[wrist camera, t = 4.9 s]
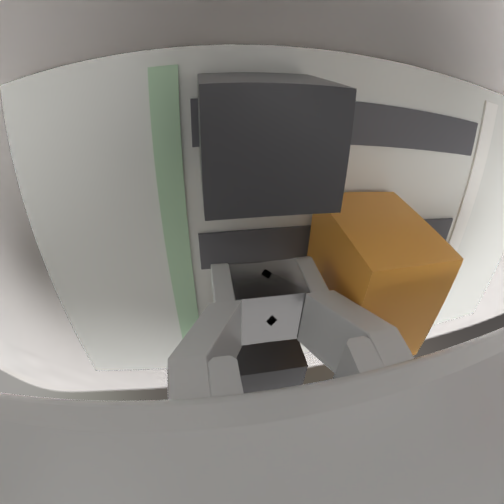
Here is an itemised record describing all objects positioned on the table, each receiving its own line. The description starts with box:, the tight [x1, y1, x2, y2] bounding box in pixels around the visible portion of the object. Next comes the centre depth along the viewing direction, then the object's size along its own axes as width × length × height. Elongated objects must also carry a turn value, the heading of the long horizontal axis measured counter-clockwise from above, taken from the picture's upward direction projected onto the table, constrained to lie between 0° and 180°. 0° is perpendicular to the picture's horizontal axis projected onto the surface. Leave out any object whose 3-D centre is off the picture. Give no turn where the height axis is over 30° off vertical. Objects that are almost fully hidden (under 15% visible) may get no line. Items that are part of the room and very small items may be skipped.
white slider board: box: [0, 44, 504, 393], centre depth 11 cm, size 22×13×5 cm, turn 89°
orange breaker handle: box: [307, 192, 464, 355], centre depth 10 cm, size 3×4×4 cm
